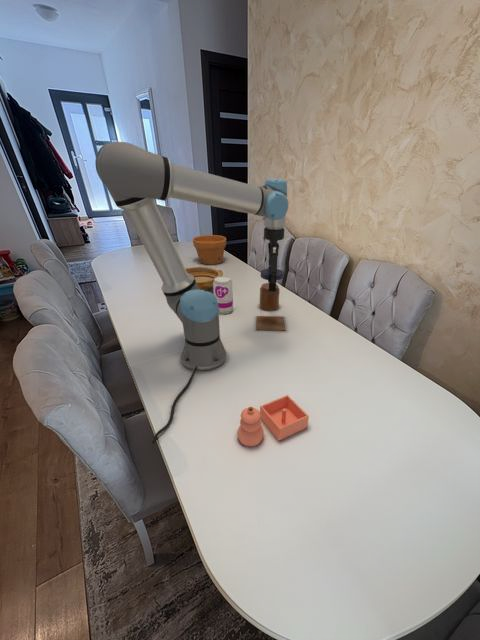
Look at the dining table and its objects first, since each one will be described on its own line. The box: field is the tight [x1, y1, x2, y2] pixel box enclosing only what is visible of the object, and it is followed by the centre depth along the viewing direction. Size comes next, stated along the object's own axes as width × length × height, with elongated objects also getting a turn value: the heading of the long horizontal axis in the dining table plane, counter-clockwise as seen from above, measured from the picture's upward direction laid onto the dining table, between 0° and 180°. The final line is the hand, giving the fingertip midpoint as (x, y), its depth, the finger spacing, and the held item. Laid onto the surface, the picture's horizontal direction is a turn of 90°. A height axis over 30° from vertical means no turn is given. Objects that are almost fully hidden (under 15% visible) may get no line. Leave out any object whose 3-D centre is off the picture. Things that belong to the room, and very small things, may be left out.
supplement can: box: [212, 275, 234, 315], centre depth 136 cm, size 8×8×15 cm
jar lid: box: [260, 267, 285, 281], centre depth 121 cm, size 9×9×2 cm
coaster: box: [256, 315, 287, 332], centre depth 130 cm, size 12×12×1 cm
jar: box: [259, 282, 281, 312], centre depth 142 cm, size 9×9×10 cm
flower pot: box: [192, 234, 227, 265], centre depth 198 cm, size 21×21×15 cm
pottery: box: [237, 394, 310, 448], centre depth 78 cm, size 18×10×10 cm, turn 121°
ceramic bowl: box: [185, 266, 224, 292], centre depth 160 cm, size 30×24×8 cm
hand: (271, 286), depth 124 cm, fingers closed on jar lid, 9 cm apart
